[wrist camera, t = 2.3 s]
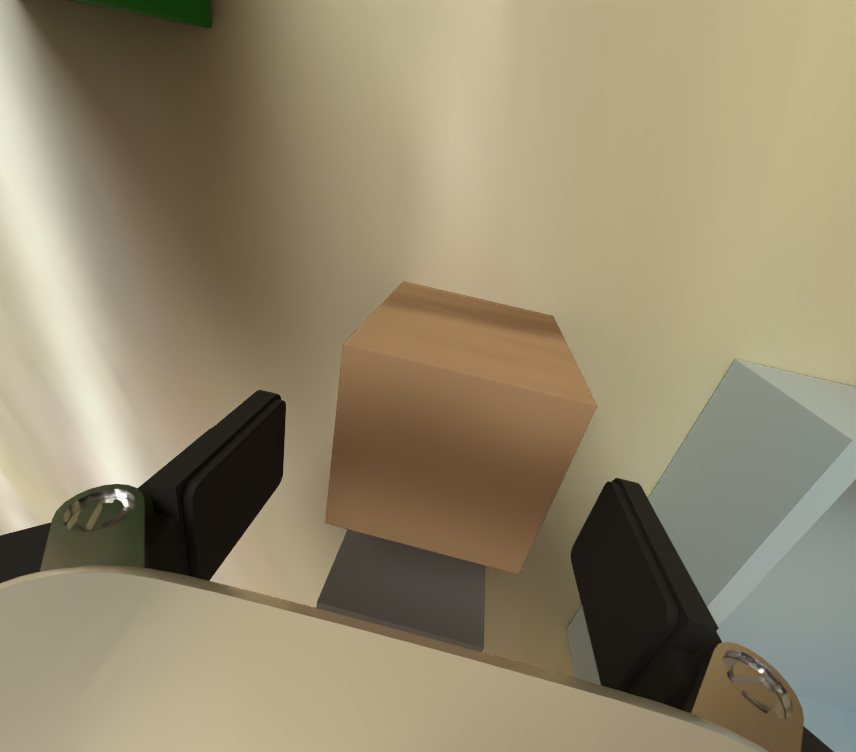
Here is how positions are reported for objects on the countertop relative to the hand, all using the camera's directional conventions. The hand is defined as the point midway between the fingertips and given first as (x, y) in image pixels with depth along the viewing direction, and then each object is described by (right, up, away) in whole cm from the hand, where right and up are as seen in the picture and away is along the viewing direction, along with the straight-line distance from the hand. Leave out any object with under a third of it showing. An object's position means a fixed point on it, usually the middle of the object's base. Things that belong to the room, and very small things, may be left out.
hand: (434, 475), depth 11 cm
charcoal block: (-1, -5, +10) cm, 11 cm away
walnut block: (+1, +3, +5) cm, 6 cm away
